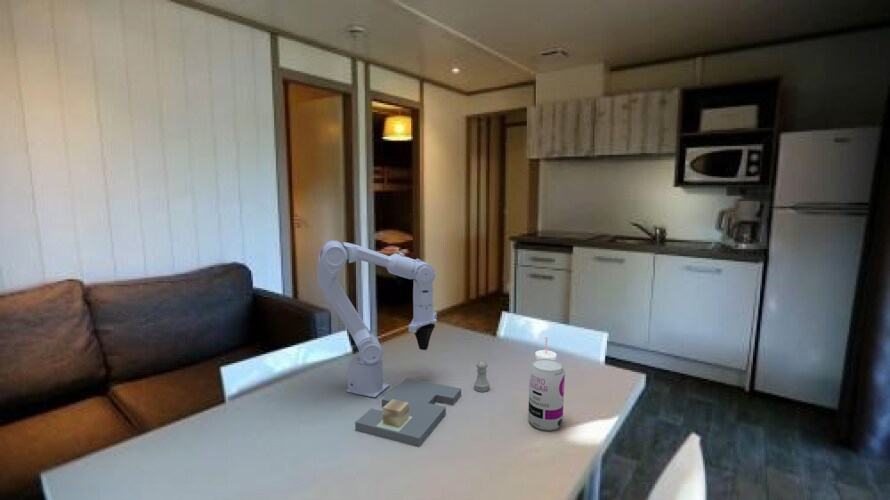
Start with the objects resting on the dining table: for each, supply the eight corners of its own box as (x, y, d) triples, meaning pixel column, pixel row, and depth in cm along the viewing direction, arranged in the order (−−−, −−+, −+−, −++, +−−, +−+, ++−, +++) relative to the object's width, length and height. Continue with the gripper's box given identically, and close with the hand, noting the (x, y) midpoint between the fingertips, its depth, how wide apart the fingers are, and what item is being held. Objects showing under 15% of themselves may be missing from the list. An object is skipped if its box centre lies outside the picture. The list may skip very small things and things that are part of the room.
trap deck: (355, 429, 103) (355, 422, 102) (406, 384, 126) (406, 377, 126) (419, 446, 96) (419, 438, 96) (461, 395, 120) (461, 388, 119)
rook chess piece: (488, 393, 121) (489, 366, 120) (472, 391, 122) (473, 364, 121) (490, 386, 125) (490, 359, 124) (474, 384, 126) (475, 358, 125)
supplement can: (563, 417, 108) (565, 360, 106) (561, 434, 101) (563, 373, 99) (530, 411, 111) (532, 356, 109) (526, 428, 103) (527, 369, 101)
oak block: (383, 423, 102) (382, 407, 101) (392, 414, 106) (392, 399, 105) (399, 427, 100) (399, 411, 99) (409, 418, 104) (408, 402, 103)
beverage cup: (532, 385, 126) (534, 339, 124) (536, 376, 131) (537, 332, 129) (553, 389, 124) (555, 342, 121) (556, 380, 129) (558, 335, 127)
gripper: (424, 311, 116) (425, 360, 118) (445, 299, 129) (445, 342, 131) (401, 309, 119) (402, 356, 121) (424, 296, 132) (424, 339, 134)
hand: (423, 349), depth 126 cm, fingers closed
